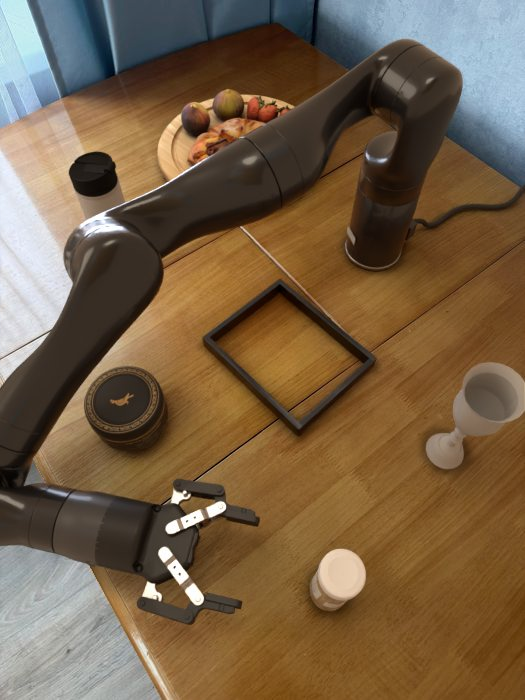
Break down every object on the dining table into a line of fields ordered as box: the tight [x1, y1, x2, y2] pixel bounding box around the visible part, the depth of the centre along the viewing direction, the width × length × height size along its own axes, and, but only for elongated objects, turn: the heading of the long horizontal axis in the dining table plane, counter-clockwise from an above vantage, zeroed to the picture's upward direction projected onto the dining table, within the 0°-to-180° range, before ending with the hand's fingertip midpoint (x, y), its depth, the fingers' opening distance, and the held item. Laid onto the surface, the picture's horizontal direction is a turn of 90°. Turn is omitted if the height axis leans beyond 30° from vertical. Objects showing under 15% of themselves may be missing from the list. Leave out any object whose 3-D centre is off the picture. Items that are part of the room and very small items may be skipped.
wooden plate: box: [156, 88, 295, 183], centre depth 98 cm, size 32×32×8 cm
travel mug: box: [68, 150, 126, 221], centre depth 80 cm, size 6×7×20 cm
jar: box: [83, 365, 169, 453], centre depth 70 cm, size 10×10×8 cm
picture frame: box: [201, 278, 378, 437], centre depth 78 cm, size 16×20×2 cm
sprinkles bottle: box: [309, 548, 367, 612], centre depth 57 cm, size 5×5×13 cm
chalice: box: [425, 361, 525, 470], centre depth 63 cm, size 7×7×18 cm
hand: (250, 561), depth 57 cm, fingers open, 8 cm apart
